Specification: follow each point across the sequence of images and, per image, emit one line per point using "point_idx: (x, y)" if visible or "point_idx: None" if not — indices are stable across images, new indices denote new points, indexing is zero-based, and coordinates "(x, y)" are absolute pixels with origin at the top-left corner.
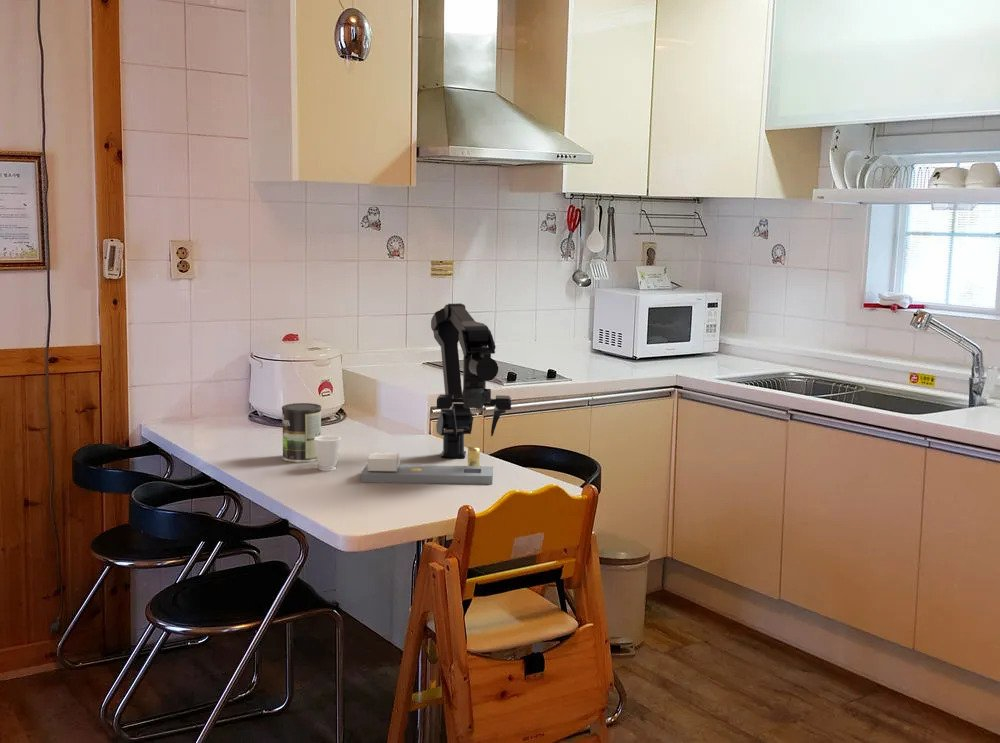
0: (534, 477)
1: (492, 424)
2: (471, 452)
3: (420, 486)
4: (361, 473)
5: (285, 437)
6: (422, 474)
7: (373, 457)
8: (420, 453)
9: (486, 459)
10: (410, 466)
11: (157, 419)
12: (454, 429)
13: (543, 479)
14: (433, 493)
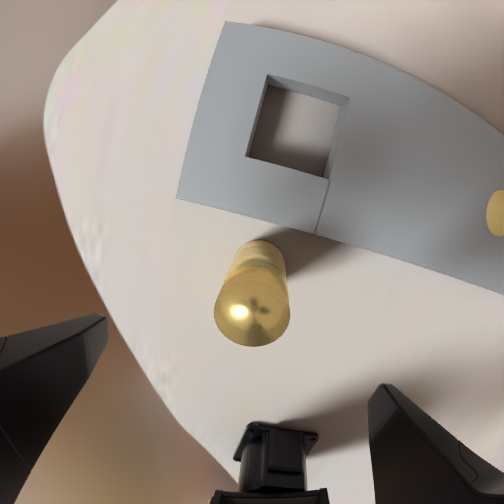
0: (61, 132)
1: (36, 352)
2: (273, 280)
3: (483, 92)
4: None
5: None
6: (495, 134)
7: None
8: (349, 462)
9: (181, 401)
10: (497, 269)
11: None
12: (413, 409)
13: (48, 106)
14: (447, 7)
